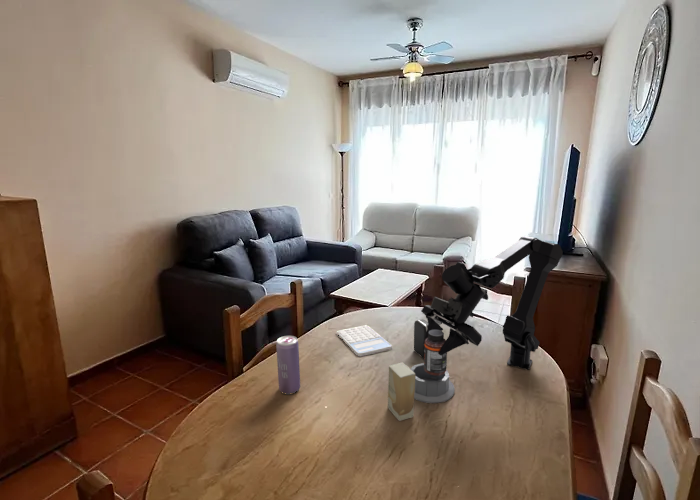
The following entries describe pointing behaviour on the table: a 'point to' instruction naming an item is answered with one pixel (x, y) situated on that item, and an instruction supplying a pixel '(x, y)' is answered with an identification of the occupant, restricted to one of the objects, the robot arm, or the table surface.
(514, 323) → the robot arm
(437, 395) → the grey round holder
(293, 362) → the beverage can
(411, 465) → the table surface
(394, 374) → the skincare box
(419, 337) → the battery charger
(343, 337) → the calculator
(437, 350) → the supplement bottle
